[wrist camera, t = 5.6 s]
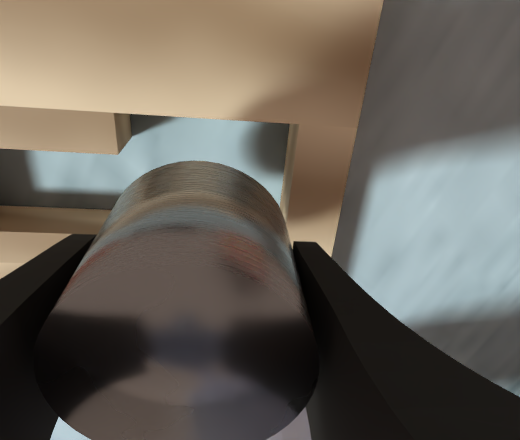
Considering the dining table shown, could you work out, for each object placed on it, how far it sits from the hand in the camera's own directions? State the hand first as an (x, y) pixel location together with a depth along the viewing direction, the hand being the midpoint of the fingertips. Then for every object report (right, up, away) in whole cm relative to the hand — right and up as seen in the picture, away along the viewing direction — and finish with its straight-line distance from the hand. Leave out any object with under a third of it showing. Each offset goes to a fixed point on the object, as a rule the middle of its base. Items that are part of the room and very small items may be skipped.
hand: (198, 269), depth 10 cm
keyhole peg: (0, +2, +3) cm, 3 cm away
